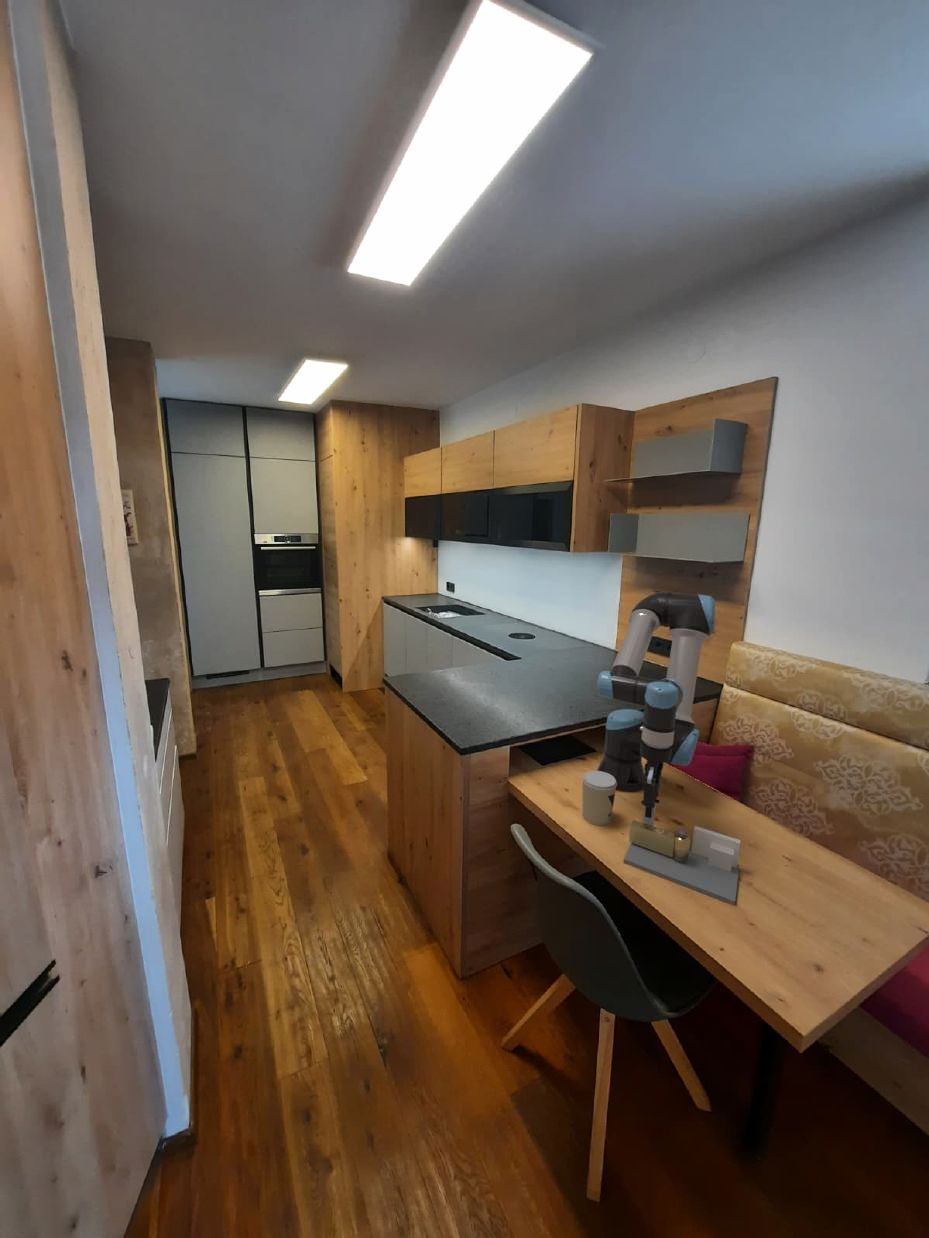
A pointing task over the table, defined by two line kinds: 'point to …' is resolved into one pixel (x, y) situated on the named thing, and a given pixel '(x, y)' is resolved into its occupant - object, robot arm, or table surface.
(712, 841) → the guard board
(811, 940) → the table surface
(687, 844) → the swing bar
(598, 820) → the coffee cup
